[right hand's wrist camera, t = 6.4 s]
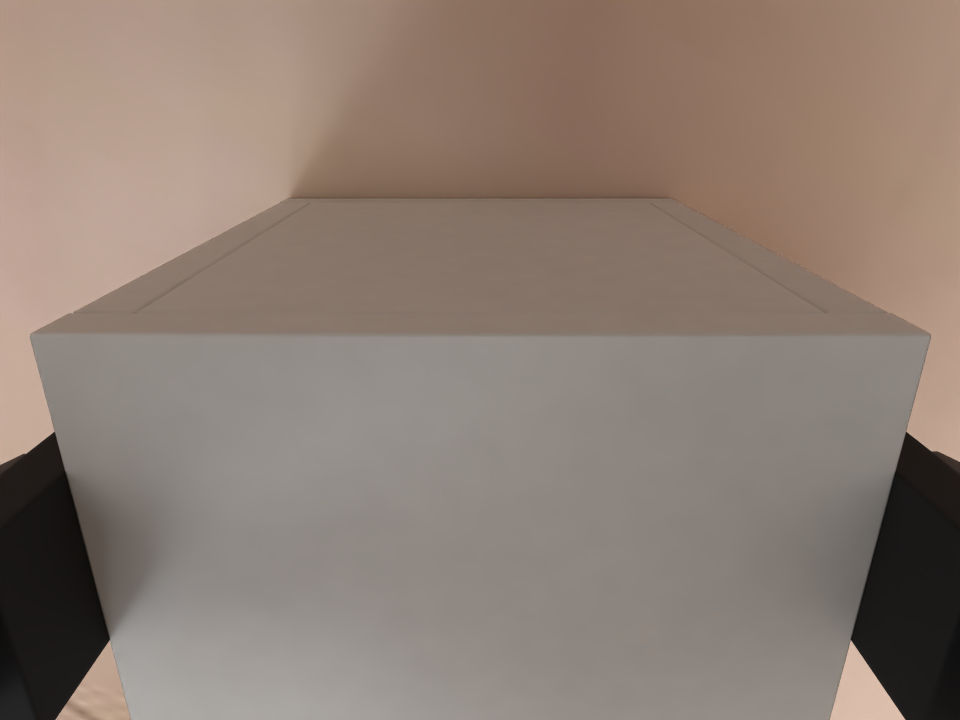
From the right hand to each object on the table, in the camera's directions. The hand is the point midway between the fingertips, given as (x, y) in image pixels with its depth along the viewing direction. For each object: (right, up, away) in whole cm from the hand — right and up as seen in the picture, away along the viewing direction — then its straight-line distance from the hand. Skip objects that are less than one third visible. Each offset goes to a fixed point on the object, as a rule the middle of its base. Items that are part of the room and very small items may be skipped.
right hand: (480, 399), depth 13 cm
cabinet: (0, -5, +8) cm, 9 cm away
